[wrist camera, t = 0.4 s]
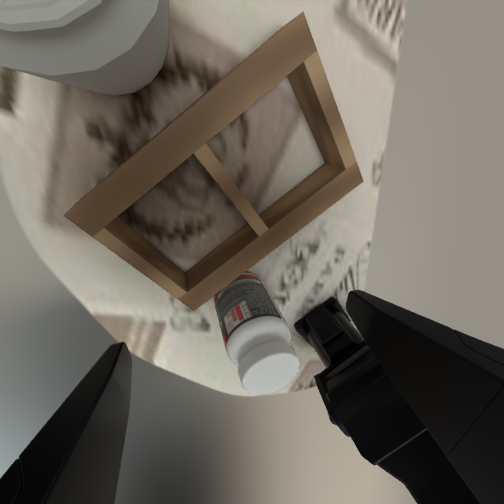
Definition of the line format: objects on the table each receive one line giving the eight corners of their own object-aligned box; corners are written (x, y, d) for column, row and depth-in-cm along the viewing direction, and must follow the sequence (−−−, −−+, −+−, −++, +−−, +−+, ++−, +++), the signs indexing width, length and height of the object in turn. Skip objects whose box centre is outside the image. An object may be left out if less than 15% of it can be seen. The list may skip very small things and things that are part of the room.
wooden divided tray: (342, 173, 23) (363, 181, 20) (191, 290, 24) (193, 311, 22) (282, 27, 16) (303, 11, 13) (78, 200, 17) (63, 215, 15)
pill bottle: (201, 297, 25) (217, 388, 17) (240, 260, 24) (277, 337, 16) (238, 319, 28) (267, 405, 20) (273, 287, 27) (319, 363, 19)
